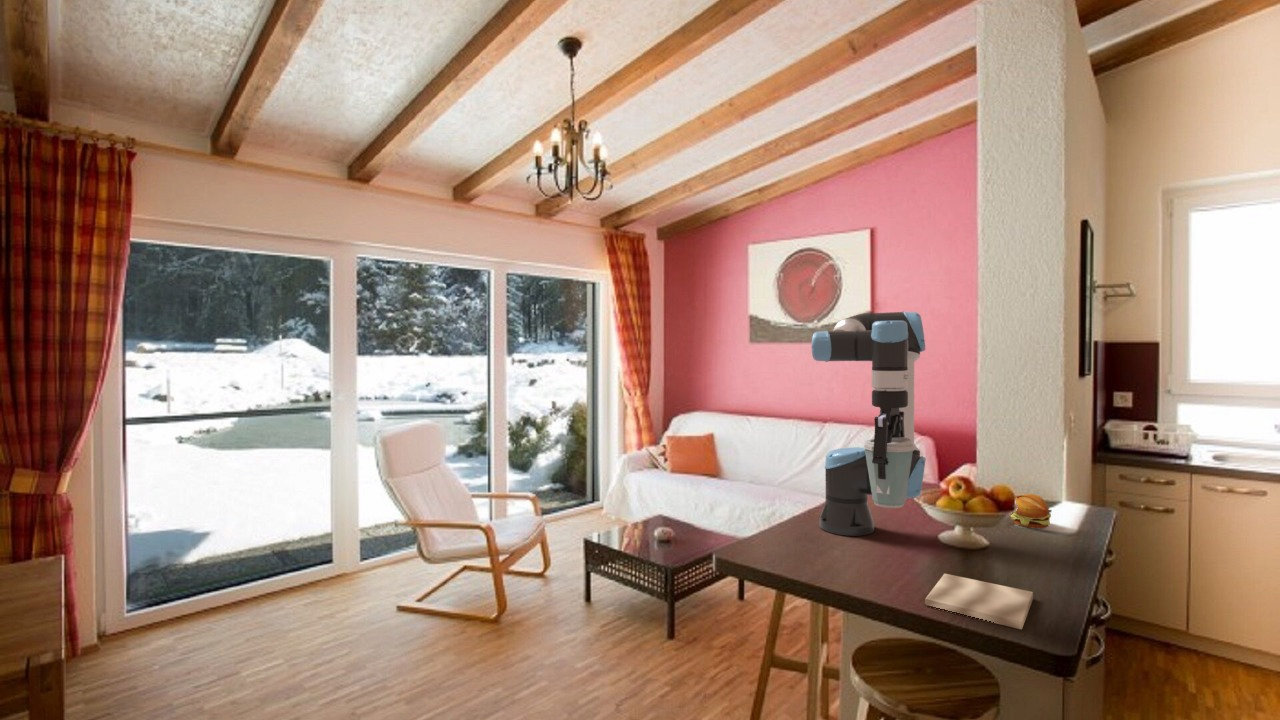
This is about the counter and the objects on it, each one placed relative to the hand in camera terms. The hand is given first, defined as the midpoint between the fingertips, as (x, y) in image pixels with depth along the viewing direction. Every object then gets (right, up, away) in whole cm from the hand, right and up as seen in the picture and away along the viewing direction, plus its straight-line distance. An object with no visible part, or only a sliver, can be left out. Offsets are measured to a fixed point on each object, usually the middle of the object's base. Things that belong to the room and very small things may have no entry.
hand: (889, 488), depth 137 cm
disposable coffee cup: (-1, -4, -1) cm, 4 cm away
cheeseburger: (+58, -20, +41) cm, 74 cm away
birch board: (+14, -21, -11) cm, 28 cm away
